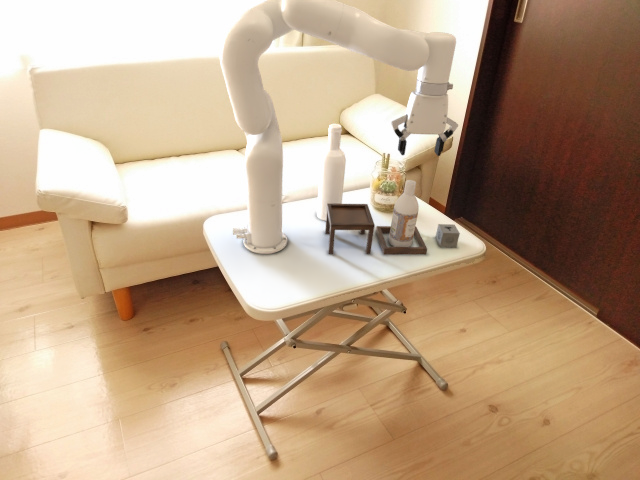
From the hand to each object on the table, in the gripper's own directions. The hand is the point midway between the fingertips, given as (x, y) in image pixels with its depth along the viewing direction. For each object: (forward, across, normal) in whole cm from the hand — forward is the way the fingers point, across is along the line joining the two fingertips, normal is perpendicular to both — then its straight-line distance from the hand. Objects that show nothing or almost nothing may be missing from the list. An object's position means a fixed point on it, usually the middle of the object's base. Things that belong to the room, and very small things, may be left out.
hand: (419, 153), depth 120 cm
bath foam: (+28, +1, 0) cm, 28 cm away
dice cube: (+28, -13, 0) cm, 31 cm away
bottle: (+28, +21, -16) cm, 39 cm away
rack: (+28, +9, 0) cm, 30 cm away
